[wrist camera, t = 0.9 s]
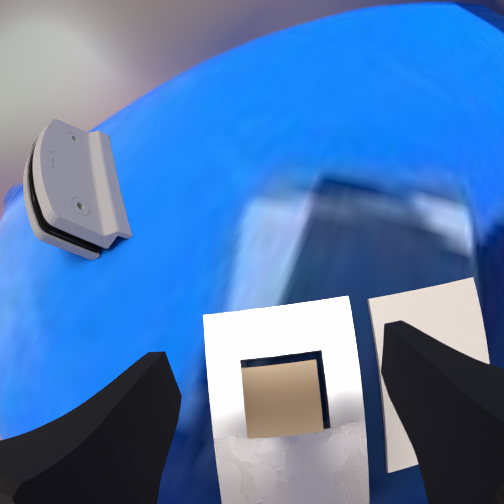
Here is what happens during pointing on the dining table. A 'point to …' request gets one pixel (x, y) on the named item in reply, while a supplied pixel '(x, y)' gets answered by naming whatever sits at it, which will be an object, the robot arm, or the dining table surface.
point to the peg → (282, 400)
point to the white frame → (295, 446)
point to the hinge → (74, 190)
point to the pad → (435, 325)
